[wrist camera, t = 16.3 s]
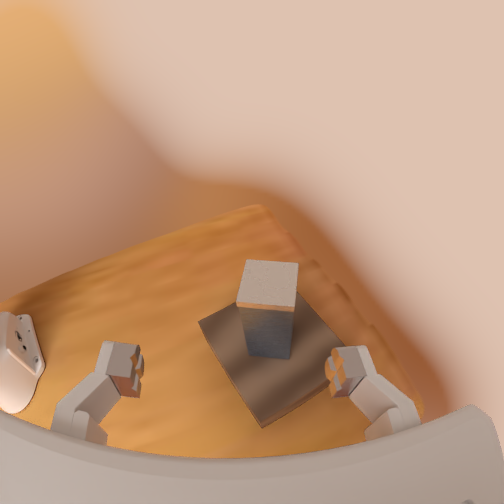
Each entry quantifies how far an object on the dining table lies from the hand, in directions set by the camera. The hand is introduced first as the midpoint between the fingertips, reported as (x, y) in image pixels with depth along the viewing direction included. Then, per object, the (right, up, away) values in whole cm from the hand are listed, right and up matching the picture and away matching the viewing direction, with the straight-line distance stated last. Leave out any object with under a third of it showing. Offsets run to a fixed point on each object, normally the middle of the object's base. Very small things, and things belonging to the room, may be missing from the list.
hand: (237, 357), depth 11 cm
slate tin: (+3, -7, +24) cm, 25 cm away
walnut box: (+4, -11, +28) cm, 30 cm away
